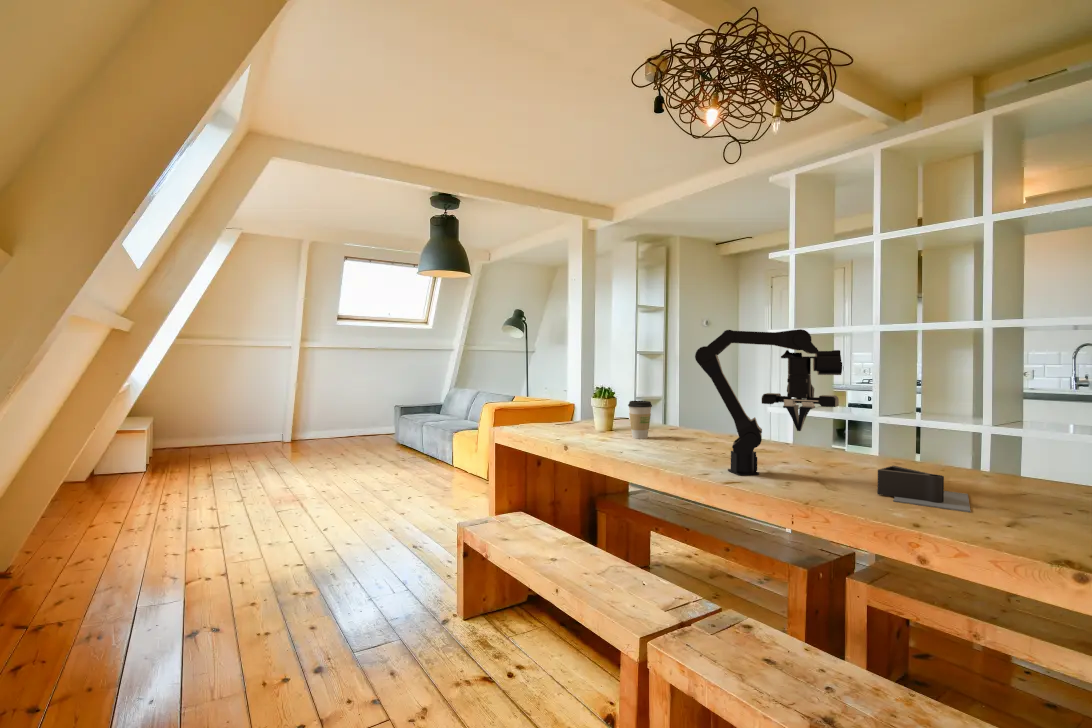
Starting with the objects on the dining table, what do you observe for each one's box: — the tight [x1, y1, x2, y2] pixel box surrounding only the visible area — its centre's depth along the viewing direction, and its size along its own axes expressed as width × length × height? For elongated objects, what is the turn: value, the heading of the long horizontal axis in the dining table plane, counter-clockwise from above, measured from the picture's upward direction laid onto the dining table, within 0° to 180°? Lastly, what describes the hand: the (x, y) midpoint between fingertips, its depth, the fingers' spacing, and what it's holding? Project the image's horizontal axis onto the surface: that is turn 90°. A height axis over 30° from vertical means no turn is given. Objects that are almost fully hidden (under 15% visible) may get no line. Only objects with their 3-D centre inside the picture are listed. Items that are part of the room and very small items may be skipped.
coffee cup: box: [627, 400, 653, 440], centre depth 217 cm, size 10×10×15 cm
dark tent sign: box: [876, 465, 945, 503], centre depth 126 cm, size 9×6×12 cm
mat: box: [893, 490, 971, 513], centre depth 126 cm, size 14×18×1 cm
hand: (799, 430), depth 147 cm, fingers closed
